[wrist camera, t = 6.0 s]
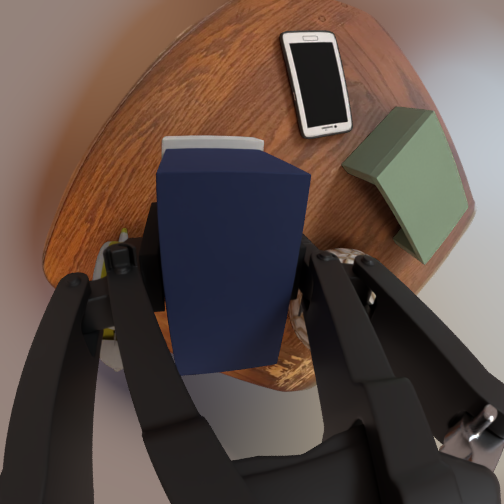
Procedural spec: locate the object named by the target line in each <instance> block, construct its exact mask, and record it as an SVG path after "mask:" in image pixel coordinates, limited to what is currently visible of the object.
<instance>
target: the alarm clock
mask: <svg viewBox="0 0 504 504" xmlns="http://www.w3.org/2000/svg"><path fill="white" fill-rule="evenodd" d="M126 239H128V233H127V229H126V228H123V229H122V231H121V234H120V237H119V241H118V242H116V241H112V242H109V241H108V242H106V243H104V245H103V246H102V247H101V249H100V252H99V254H98V257H97V260H96V265H95V269H94V274H93V280H97V279H100V278H103V277H105V276H107V273H106V268H105V263H104V258H103V251H104V249H105V248H107V247H108V246H110V245H113V244H116V243H123V242H124V241H125V240H126ZM93 280H92V281H93ZM103 331H104V333H103V339H102V345H101V351H100V359H101V360H102V361H103V362H104V363H105V364H106V365H107V366H109V367H111V368H113V369H114V370H115V371H117V372H118V371H120V370H121V369H123V364H122V360H121V356H120V352H119V347H118V342H117V337H116V332H115V327H110V328H106V329H103Z"/></svg>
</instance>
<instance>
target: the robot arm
mask: <svg viewBox="0 0 504 504" xmlns="http://www.w3.org/2000/svg"><path fill="white" fill-rule="evenodd" d="M103 258H104V263H105V268H106V273H107V276H105V277H103V278H100V279H97V280H93V281H89V278H88V276H87V275H86V274H84V273H78V272H77V273H70V274H68V275H66V276H65V277H63V278H62V279H61V280H60V281H59V283H58V285H57V287H56V289H55V291H54V293H53V295H52V297H51V300H50V302H49V304H48V306H47V308H46V311H45V313H44V315H43V318H42V320H41V322H40V325H39V327H38V330H37V332H36V335H35V337H34V340H33V342H32V345H31V348H30V350H29V353H28V356H27V359H26V362H25V365H24V368H23V371H22V375H21V378H20V381H19V385H18V388H17V392H16V396H15V400H14V404H13V408H12V413H11V417H10V422H9V427H8V433H7V439H6V446H5V453H4V463H3V470H2V472H1V475H0V504H94V489H93V471H92V470H93V468H92V436H93V435H92V434H93V414H94V401H95V390H96V380H97V372H98V364H99V358H100V351H101V345H102V339H103V333H104V331H103V329H106V328H110V327H115V332H116V337H117V342H118V347H119V352H120V356H121V360H122V364H123V369H124V372H125V376H126V380H127V384H128V387H129V391H130V394H131V398H132V401H133V404H134V408H135V411H136V414H137V417H138V420H139V423H140V425H141V429H142V437H143V441H144V443H145V447H146V449H147V452H148V454H149V457H150V459H151V462H152V464H153V467H154V469H155V471H156V474H157V476H158V478H159V480H160V482H161V485H162V487H163V489H164V491H165V493H166V495H167V497H168V499H169V501H170V503H171V504H501V498H500V485H499V481H498V479H497V477H496V475H495V474H494V473H493V472H494V470H495V468H496V466H497V463H498V461H499V459H500V456H501V454H502V451H503V448H504V384H503V383H502V382H501V381H500V380H498V379H497V378H496V377H494V376H493V375H492V374H490V373H489V372H488V371H487V370H486V369H485V368H484V366H483V365H482V364H481V363H480V362H479V361H478V359H477V358H476V357H475V356H474V355H473V354H472V353H471V352H470V351H469V349H468V348H467V347H466V346H465V345H464V344H463V343H462V342H461V341H460V339H459V338H458V337H457V336H456V335H454V333H453V332H452V331H451V330H450V329H449V328H448V327H447V326H446V325H445V324H444V323H443V322H442V321H441V320H440V319H439V318H438V317H437V316H436V315H435V314H434V313H433V312H432V310H430V309H429V308H428V307H427V306H426V305H425V304H424V303H423V302H422V301H421V300H420V299H419V298H418V297H417V296H416V295H415V294H414V293H413V292H412V291H411V290H410V289H409V288H408V287H407V286H406V285H405V284H404V283H402V282H401V281H400V280H399V279H398V278H397V277H396V276H395V275H394V274H393V273H392V272H390V271H389V270H388V269H387V268H386V267H385V266H384V265H383V264H382V263H380V262H379V261H378V260H377V259H375V258H373V257H371V256H369V255H357V256H356V257H355V259H354V262H353V264H349V263H341V262H340V260H339V258H338V257H337V256H336V255H335V254H333V253H331V252H328V251H323V250H319V249H318V248H317V247H316V246H315V245H314V244H313V243H311V241H310V240H309V239H308V238H307V237H306V236H305V235H304V234H302V239H301V244H300V250H299V256H298V262H297V267H296V273H295V278H294V283H293V289H292V294H291V299H290V300H296V299H297V295H298V290H300V291H301V293H302V299H301V303H300V308H299V312H298V316H300V315H301V313H302V312H303V316H304V321H305V326H306V331H307V336H308V341H309V346H310V351H311V356H312V361H313V366H314V371H315V377H316V382H317V388H318V393H319V399H320V404H321V410H322V416H323V422H324V434H323V439H322V443H321V444H319V445H318V446H316V447H314V448H313V449H311V450H309V451H308V452H306V453H304V454H301V455H291V456H255V457H250V458H245V459H239V460H233V461H231V460H230V458H229V457H228V455H227V454H226V452H225V450H224V448H223V447H222V445H221V443H220V442H219V440H218V439H217V437H216V435H215V433H214V431H213V430H212V428H211V426H210V425H209V423H208V422H207V420H206V419H205V418H204V417H203V416H201V415H200V414H199V412H198V411H197V409H196V407H195V405H194V403H193V401H192V399H191V397H190V395H189V393H188V391H187V389H186V387H185V385H184V382H183V380H182V379H181V376H180V374H179V372H178V369H177V367H176V365H175V363H174V361H173V358H172V356H171V354H170V351H169V349H168V347H167V344H166V342H165V339H164V337H163V334H162V332H161V329H160V327H159V324H158V322H157V319H156V316H155V314H154V312H160V311H165V295H164V286H163V277H162V268H161V257H160V246H159V232H158V216H157V202H153V203H152V204H151V207H150V211H149V214H148V218H147V222H146V226H145V230H144V234H143V237H138V238H128V239H126V240H125V241H124V242H123V243H116V244H113V245H110V246H108V247H107V248H105V249H104V251H103ZM372 291H373V292H374V294H375V295H376V297H375V300H374V302H373V304H372V303H371V302H370V301H369V300H370V297H371V294H372ZM433 436H434V437H435V438H436V439H437V440H438V441H440V443H442V444H443V445H442V446H441V447H440V449H439V451H438V448H437V446H436V443H435V440H434V437H433Z"/></svg>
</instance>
